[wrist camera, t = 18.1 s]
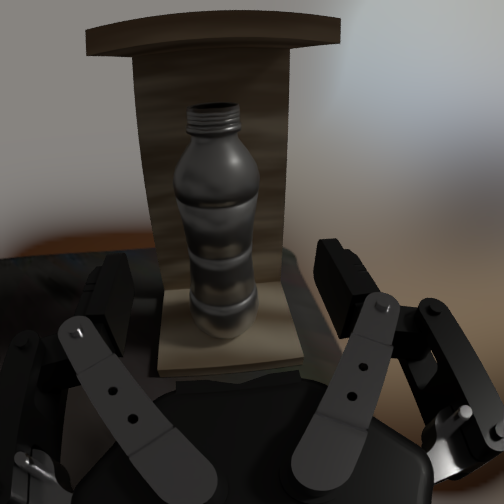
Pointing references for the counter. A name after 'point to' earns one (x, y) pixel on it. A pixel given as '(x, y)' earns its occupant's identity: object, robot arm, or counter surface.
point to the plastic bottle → (218, 219)
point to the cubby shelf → (251, 135)
